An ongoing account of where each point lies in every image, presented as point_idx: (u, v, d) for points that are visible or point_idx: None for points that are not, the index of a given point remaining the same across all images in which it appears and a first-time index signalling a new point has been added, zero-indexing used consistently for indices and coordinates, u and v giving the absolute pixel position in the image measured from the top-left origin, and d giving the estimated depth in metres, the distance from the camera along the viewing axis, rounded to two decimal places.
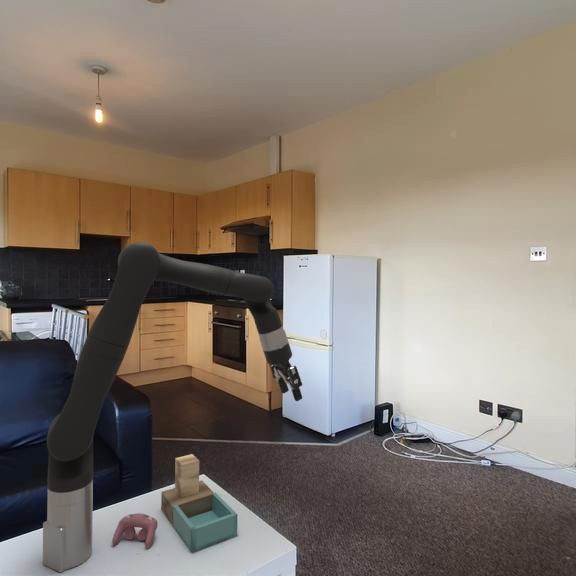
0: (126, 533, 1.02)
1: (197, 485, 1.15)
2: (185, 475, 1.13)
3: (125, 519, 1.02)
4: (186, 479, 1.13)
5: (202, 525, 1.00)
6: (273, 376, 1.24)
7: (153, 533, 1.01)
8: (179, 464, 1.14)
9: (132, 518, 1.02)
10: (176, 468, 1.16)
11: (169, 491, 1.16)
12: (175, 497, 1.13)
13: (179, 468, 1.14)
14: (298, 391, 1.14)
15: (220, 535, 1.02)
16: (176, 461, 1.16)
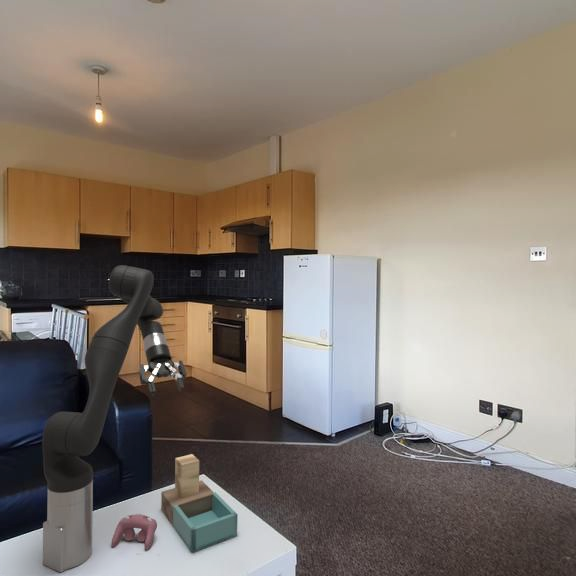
0: (125, 534, 1.02)
1: (197, 485, 1.15)
2: (185, 475, 1.13)
3: (124, 520, 1.02)
4: (186, 479, 1.13)
5: (202, 525, 1.00)
6: (144, 378, 1.28)
7: (152, 534, 1.00)
8: (179, 464, 1.14)
9: (131, 519, 1.02)
10: (176, 468, 1.16)
11: (169, 491, 1.16)
12: (175, 497, 1.13)
13: (179, 468, 1.14)
14: None
15: (220, 535, 1.02)
16: (176, 461, 1.16)
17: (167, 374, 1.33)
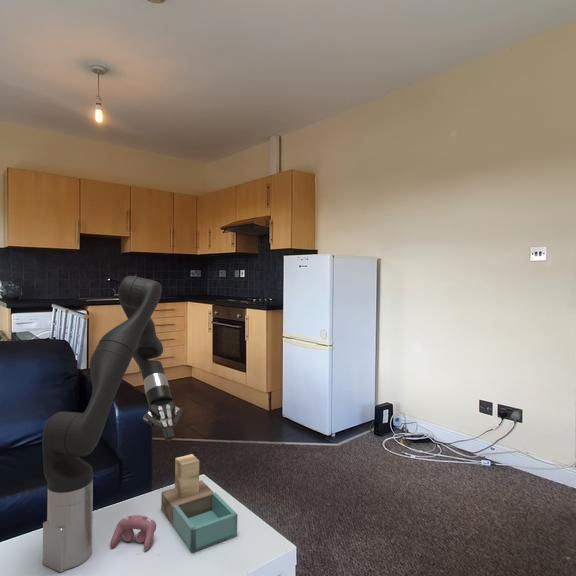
0: (125, 535, 1.01)
1: (197, 485, 1.15)
2: (185, 475, 1.13)
3: (124, 521, 1.02)
4: (186, 479, 1.13)
5: (202, 525, 1.00)
6: (158, 423, 1.27)
7: (152, 535, 1.00)
8: (179, 464, 1.14)
9: (131, 520, 1.01)
10: (176, 468, 1.16)
11: (169, 491, 1.16)
12: (175, 497, 1.13)
13: (179, 468, 1.14)
14: None
15: (220, 535, 1.02)
16: (176, 461, 1.16)
17: None
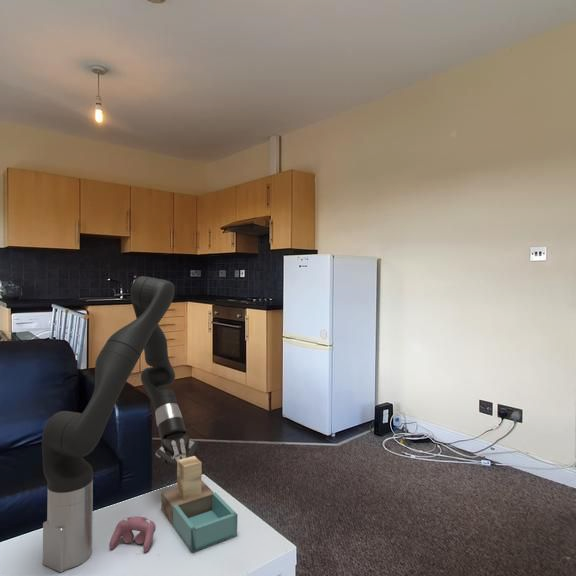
0: (124, 536, 1.01)
1: (199, 487, 1.14)
2: (188, 477, 1.12)
3: (123, 522, 1.01)
4: (188, 481, 1.12)
5: (202, 525, 1.00)
6: (172, 460, 1.18)
7: (151, 536, 1.00)
8: (181, 466, 1.13)
9: (130, 522, 1.01)
10: (178, 470, 1.14)
11: (169, 491, 1.16)
12: (175, 497, 1.13)
13: (181, 470, 1.13)
14: None
15: (220, 535, 1.02)
16: (178, 463, 1.14)
17: None
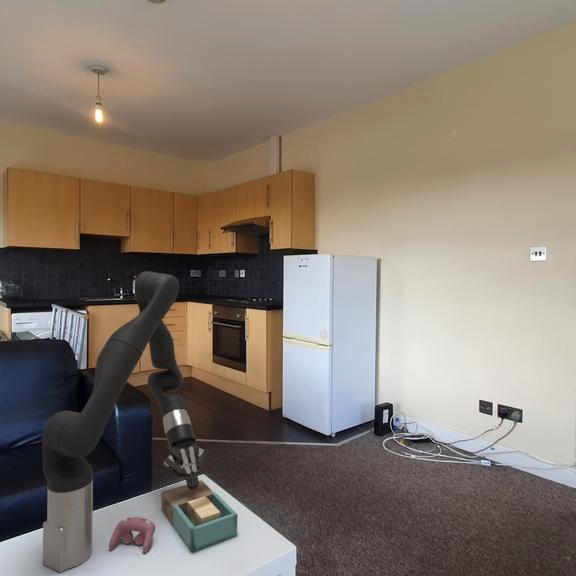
0: (123, 537, 1.01)
1: None
2: None
3: (122, 523, 1.01)
4: None
5: (202, 525, 1.00)
6: (181, 469, 1.12)
7: (151, 537, 0.99)
8: None
9: (129, 522, 1.00)
10: (197, 517, 1.04)
11: (169, 491, 1.16)
12: (175, 497, 1.13)
13: None
14: None
15: (220, 535, 1.02)
16: (200, 521, 1.02)
17: None
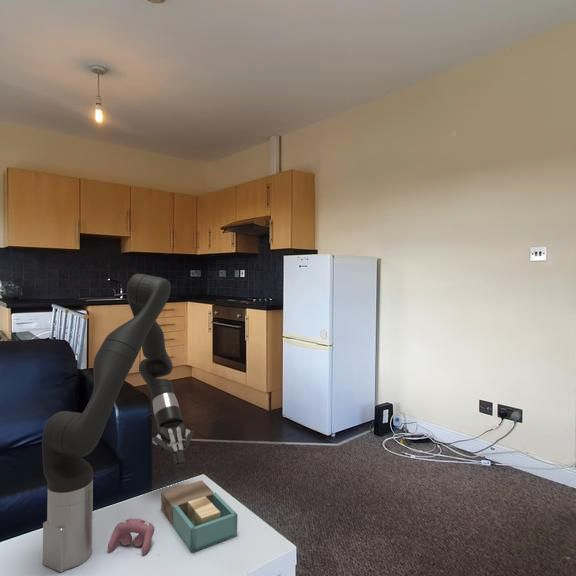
0: (122, 539, 1.00)
1: None
2: None
3: (121, 524, 1.00)
4: None
5: (202, 525, 1.00)
6: (168, 447, 1.20)
7: (150, 539, 0.99)
8: None
9: (128, 524, 1.00)
10: (197, 517, 1.04)
11: (169, 491, 1.16)
12: (175, 497, 1.13)
13: None
14: None
15: (220, 535, 1.02)
16: (200, 521, 1.02)
17: None
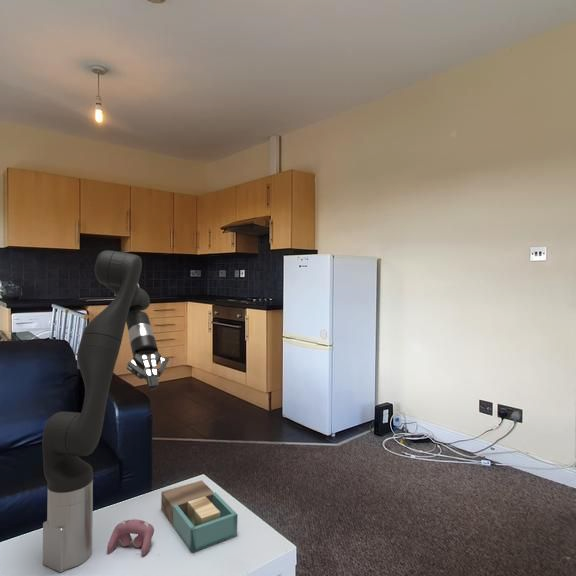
0: (122, 540, 1.00)
1: None
2: None
3: (120, 525, 1.00)
4: None
5: (202, 525, 1.00)
6: (142, 371, 1.23)
7: (149, 539, 0.98)
8: None
9: (128, 525, 0.99)
10: (197, 517, 1.04)
11: (169, 491, 1.16)
12: (175, 497, 1.13)
13: None
14: None
15: (220, 535, 1.02)
16: (200, 521, 1.02)
17: None
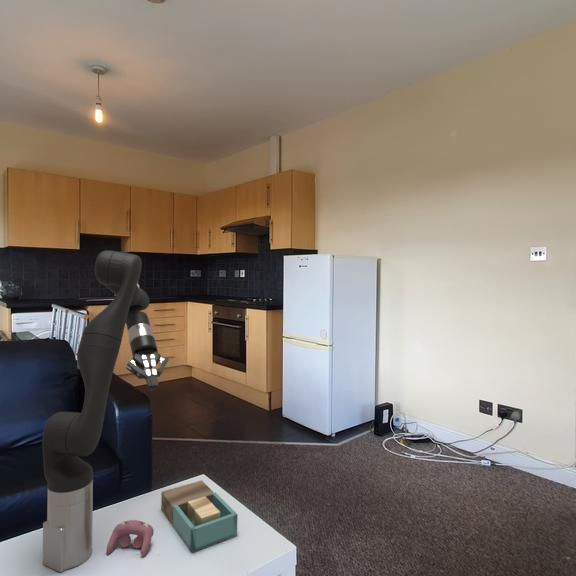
0: (121, 541, 0.99)
1: None
2: None
3: (120, 526, 1.00)
4: None
5: (202, 525, 1.00)
6: (142, 371, 1.23)
7: (149, 540, 0.98)
8: None
9: (127, 526, 0.99)
10: (197, 517, 1.04)
11: (169, 491, 1.16)
12: (175, 497, 1.13)
13: None
14: None
15: (220, 535, 1.02)
16: (200, 521, 1.02)
17: None
